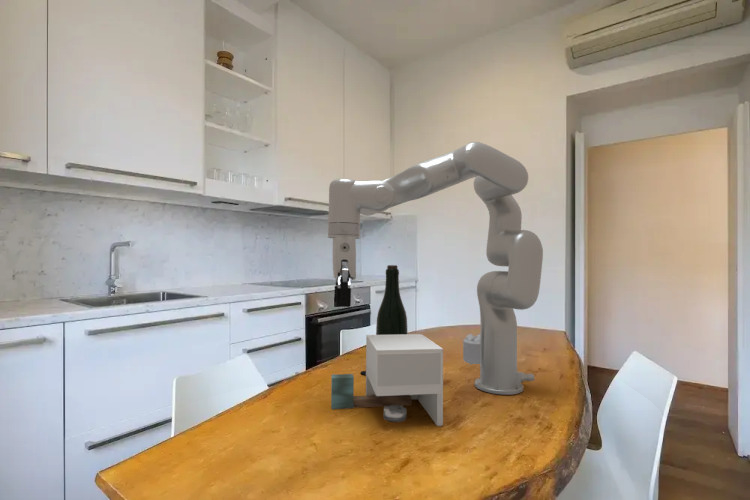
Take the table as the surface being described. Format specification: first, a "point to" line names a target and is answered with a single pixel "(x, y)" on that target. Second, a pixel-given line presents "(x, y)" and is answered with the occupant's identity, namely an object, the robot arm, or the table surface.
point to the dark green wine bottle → (391, 307)
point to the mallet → (345, 396)
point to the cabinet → (406, 370)
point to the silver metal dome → (395, 413)
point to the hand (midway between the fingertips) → (341, 304)
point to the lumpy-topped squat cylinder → (471, 349)
